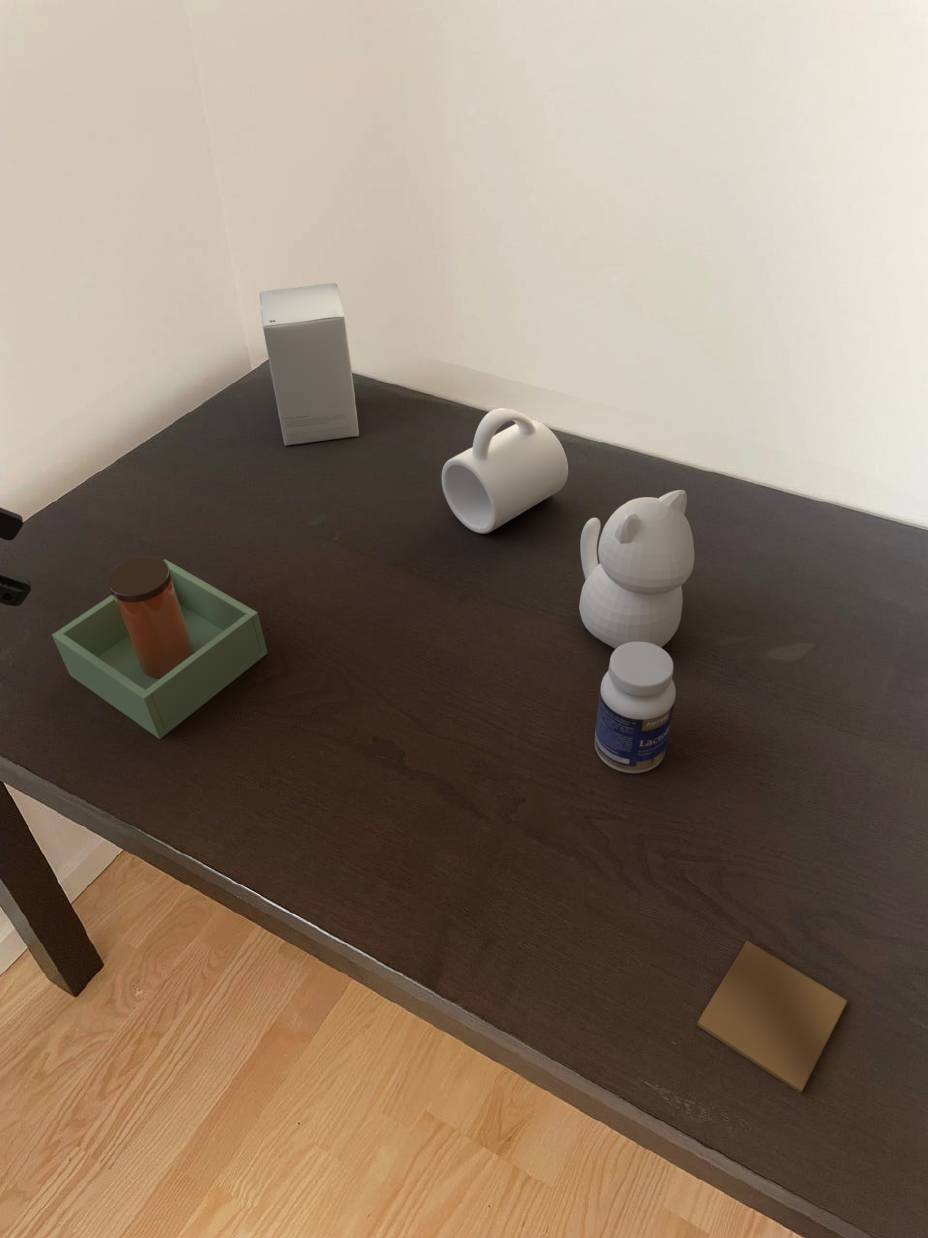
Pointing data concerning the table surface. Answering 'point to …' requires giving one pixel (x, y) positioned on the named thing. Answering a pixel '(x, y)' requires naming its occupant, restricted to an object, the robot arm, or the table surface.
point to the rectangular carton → (310, 363)
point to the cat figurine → (637, 571)
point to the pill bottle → (635, 708)
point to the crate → (159, 705)
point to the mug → (504, 471)
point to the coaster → (773, 1015)
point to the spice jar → (151, 614)
